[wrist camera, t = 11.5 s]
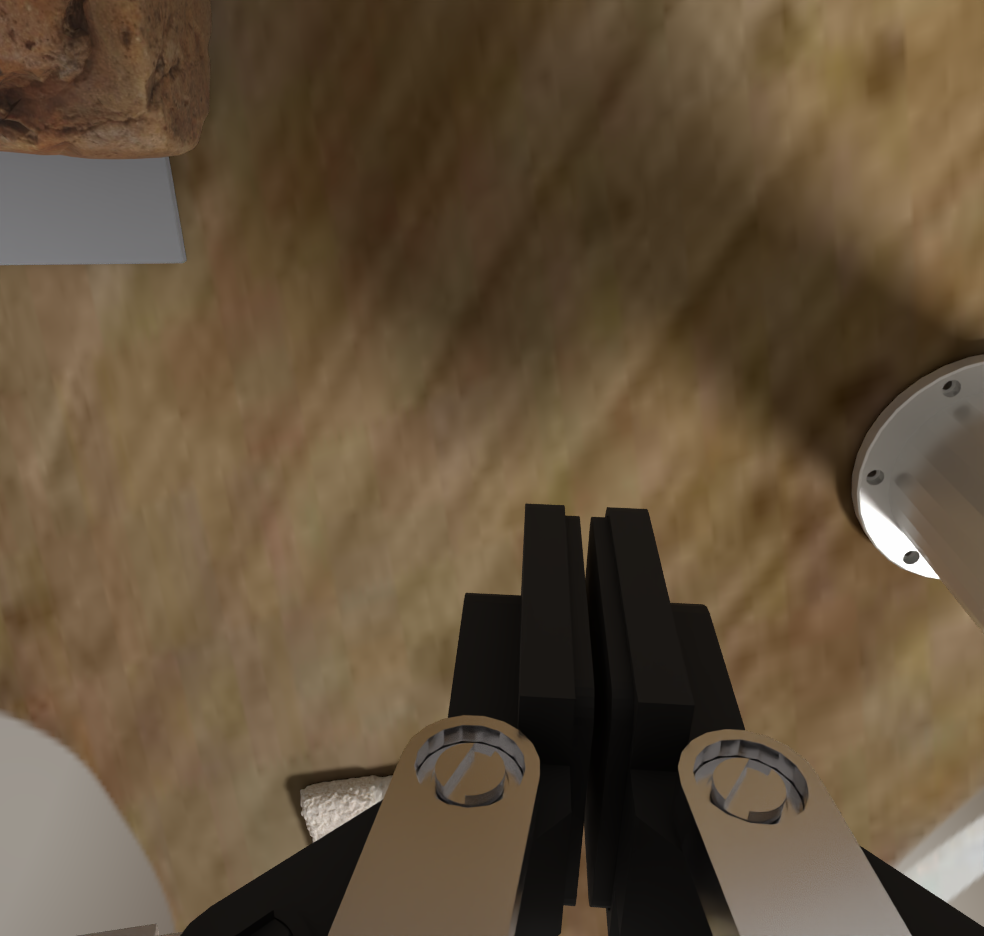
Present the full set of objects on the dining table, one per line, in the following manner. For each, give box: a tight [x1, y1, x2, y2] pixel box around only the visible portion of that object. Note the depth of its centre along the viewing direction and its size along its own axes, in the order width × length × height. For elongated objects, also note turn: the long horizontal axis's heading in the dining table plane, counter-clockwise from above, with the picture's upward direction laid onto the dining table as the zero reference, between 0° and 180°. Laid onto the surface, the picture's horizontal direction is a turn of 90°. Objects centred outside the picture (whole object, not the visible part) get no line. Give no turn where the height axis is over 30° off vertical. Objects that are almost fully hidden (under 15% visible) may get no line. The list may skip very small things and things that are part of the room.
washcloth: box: [300, 775, 393, 843], centre depth 58 cm, size 12×18×3 cm, turn 12°
